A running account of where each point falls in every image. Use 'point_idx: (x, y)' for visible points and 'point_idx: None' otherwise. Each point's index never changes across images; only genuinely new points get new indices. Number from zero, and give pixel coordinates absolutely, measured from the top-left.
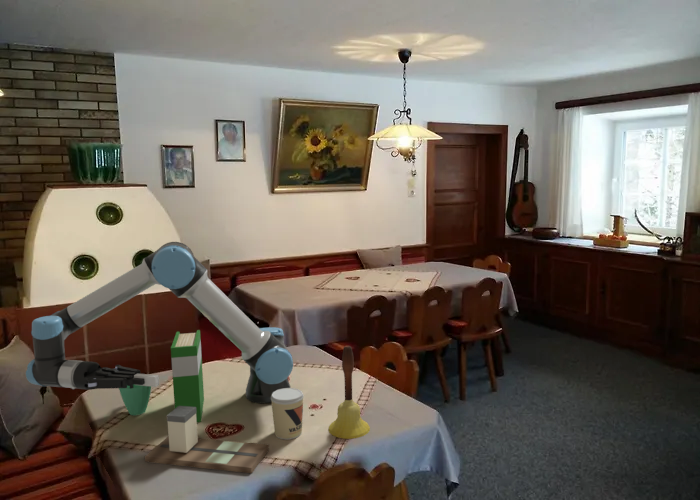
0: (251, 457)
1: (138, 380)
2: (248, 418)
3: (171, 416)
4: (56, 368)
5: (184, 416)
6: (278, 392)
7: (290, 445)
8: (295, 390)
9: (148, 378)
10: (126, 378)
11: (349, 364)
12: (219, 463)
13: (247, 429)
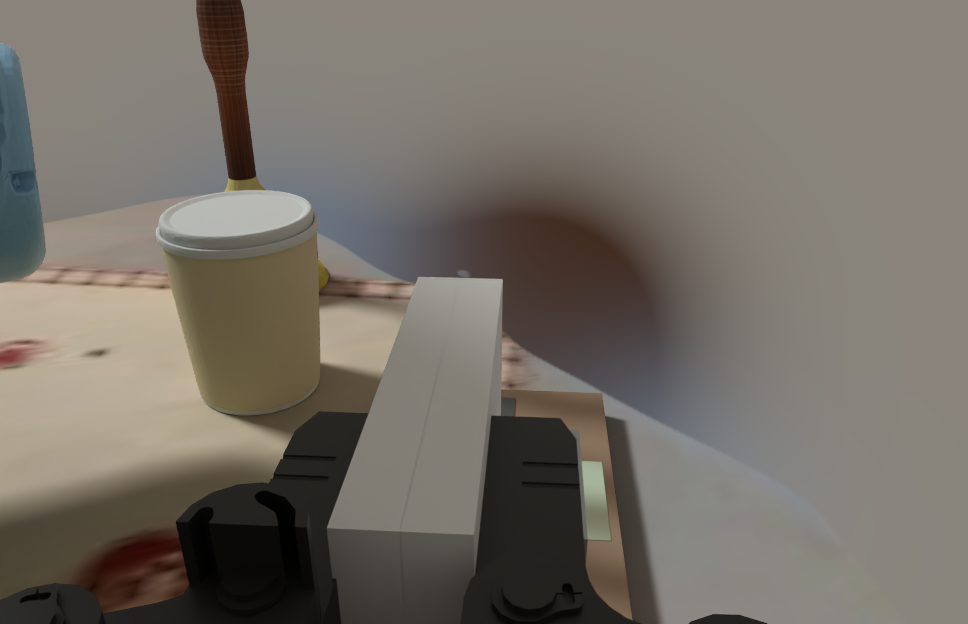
0: (524, 407)
1: (578, 473)
2: (20, 542)
3: (584, 510)
4: None
5: (571, 432)
6: (205, 230)
7: (370, 366)
8: (197, 204)
9: (496, 364)
10: (697, 619)
11: (246, 32)
12: (605, 485)
13: (181, 512)
